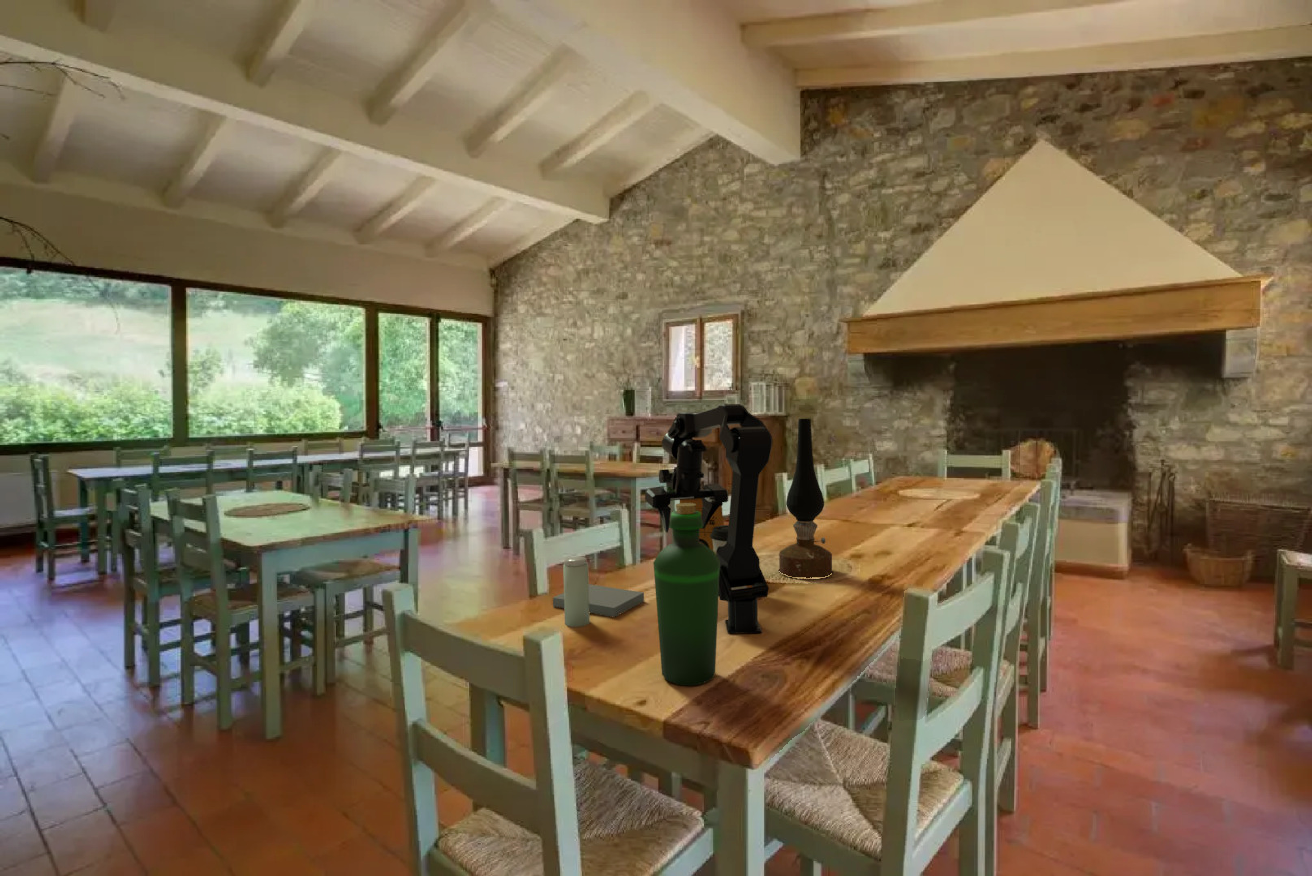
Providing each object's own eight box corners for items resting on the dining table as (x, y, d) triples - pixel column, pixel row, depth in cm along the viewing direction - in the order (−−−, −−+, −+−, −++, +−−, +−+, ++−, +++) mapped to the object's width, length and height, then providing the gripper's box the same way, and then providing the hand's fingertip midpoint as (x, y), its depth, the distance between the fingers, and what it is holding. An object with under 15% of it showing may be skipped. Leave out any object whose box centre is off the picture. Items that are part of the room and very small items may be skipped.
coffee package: (722, 580, 161) (721, 491, 160) (674, 577, 165) (672, 490, 164) (731, 570, 170) (730, 486, 169) (685, 567, 174) (684, 485, 173)
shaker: (587, 626, 130) (586, 562, 129) (562, 627, 130) (561, 562, 129) (591, 618, 135) (589, 556, 134) (567, 618, 135) (565, 556, 134)
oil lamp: (797, 595, 159) (796, 437, 148) (765, 570, 173) (761, 423, 162) (845, 582, 164) (847, 427, 153) (809, 558, 177) (809, 415, 167)
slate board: (644, 601, 146) (643, 592, 146) (614, 617, 135) (614, 607, 135) (585, 591, 154) (585, 583, 153) (553, 606, 143) (552, 597, 143)
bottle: (717, 661, 111) (715, 498, 110) (726, 689, 101) (723, 509, 99) (654, 663, 111) (651, 500, 109) (656, 692, 100) (653, 511, 99)
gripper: (710, 454, 159) (705, 514, 163) (638, 458, 152) (635, 520, 156) (732, 467, 149) (726, 531, 153) (655, 472, 142) (651, 539, 146)
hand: (684, 530), depth 152 cm, fingers open, 9 cm apart
